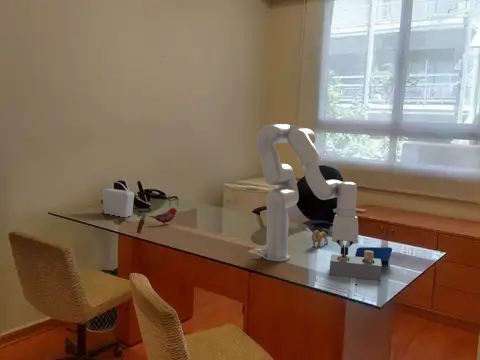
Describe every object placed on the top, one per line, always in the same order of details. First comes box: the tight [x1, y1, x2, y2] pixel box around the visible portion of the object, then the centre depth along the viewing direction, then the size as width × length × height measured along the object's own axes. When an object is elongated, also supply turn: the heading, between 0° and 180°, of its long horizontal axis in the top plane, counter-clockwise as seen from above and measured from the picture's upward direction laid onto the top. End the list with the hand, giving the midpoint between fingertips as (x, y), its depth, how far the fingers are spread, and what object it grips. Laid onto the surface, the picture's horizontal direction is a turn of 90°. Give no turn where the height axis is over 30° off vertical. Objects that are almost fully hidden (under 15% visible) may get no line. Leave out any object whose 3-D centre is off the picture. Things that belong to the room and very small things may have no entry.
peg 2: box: [364, 250, 374, 263], centre depth 198 cm, size 4×4×6 cm
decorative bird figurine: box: [146, 207, 178, 226], centre depth 276 cm, size 3×18×10 cm, turn 112°
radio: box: [101, 175, 135, 218], centre depth 299 cm, size 22×8×25 cm, turn 58°
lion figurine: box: [311, 229, 329, 249], centre depth 242 cm, size 15×5×9 cm, turn 151°
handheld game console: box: [354, 246, 393, 266], centre depth 216 cm, size 16×13×9 cm
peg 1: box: [338, 254, 349, 261], centre depth 201 cm, size 4×4×6 cm
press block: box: [329, 254, 383, 281], centre depth 200 cm, size 20×10×6 cm, turn 76°
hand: (344, 256), depth 201 cm, fingers closed
